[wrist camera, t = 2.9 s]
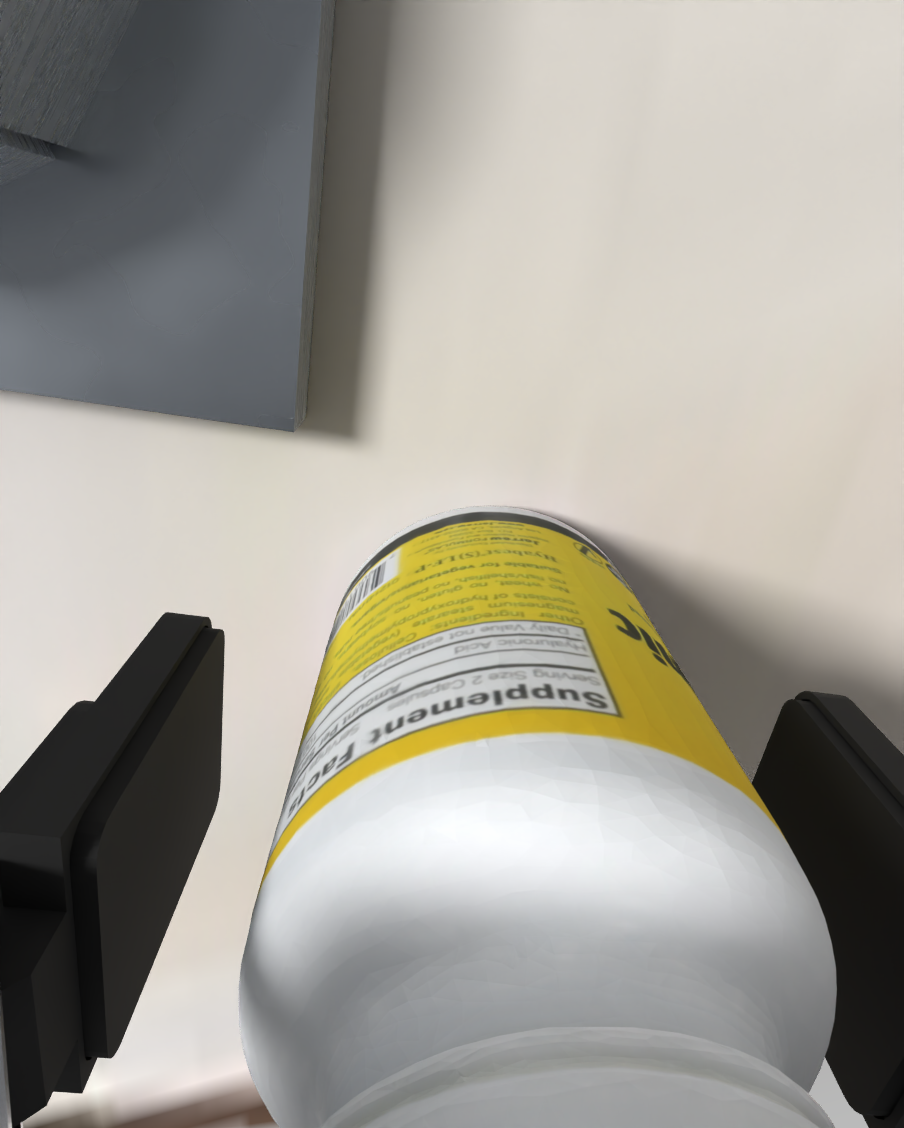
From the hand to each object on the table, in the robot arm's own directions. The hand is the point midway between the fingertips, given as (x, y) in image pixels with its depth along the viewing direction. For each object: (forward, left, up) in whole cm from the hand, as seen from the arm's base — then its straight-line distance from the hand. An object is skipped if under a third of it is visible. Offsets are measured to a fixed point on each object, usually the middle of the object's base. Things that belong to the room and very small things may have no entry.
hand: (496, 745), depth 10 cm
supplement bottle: (0, 0, -3) cm, 3 cm away
